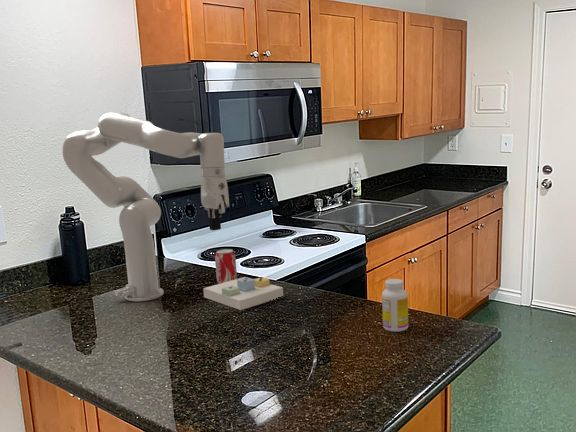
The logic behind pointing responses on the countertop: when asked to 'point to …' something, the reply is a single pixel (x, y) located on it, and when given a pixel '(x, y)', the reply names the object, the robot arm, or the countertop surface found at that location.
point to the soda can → (225, 266)
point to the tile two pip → (246, 284)
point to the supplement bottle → (395, 306)
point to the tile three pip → (261, 282)
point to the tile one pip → (230, 291)
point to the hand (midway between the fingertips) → (215, 229)
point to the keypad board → (243, 295)
